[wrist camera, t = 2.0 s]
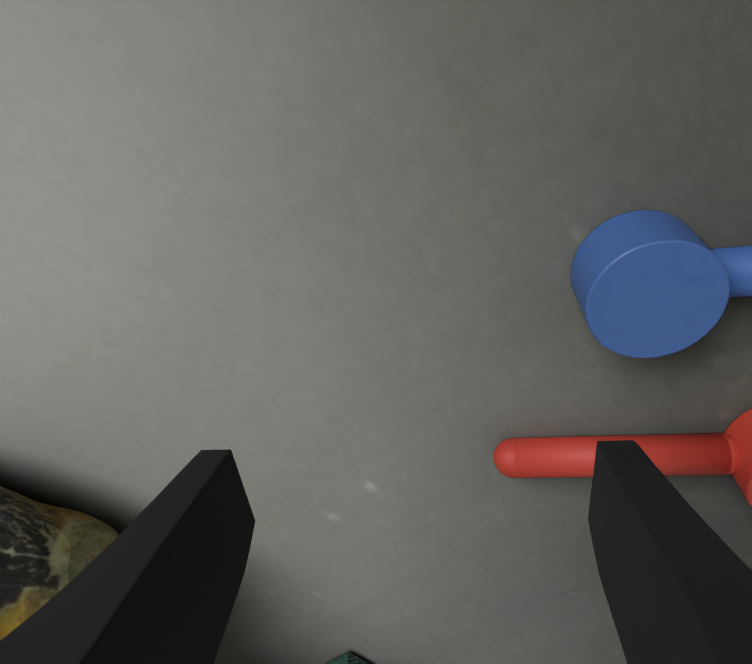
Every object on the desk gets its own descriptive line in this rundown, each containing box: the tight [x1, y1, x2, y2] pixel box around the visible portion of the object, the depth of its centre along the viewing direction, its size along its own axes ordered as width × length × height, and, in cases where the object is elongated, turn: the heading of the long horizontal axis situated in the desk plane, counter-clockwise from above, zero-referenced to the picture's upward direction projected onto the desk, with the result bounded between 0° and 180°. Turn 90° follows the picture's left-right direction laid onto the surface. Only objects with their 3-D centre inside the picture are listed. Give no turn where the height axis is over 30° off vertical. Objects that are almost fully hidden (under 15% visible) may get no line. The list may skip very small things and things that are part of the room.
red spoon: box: [494, 408, 752, 507], centre depth 20 cm, size 12×4×2 cm, turn 97°
